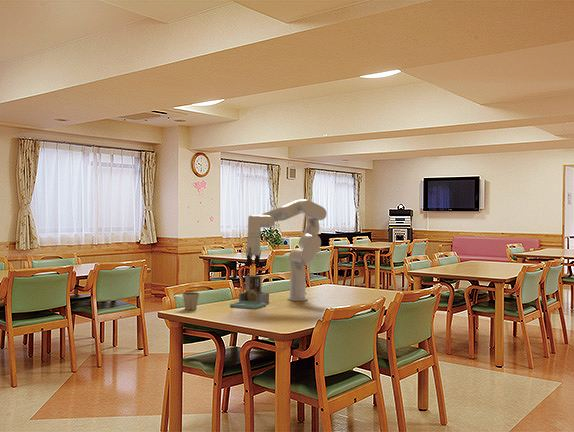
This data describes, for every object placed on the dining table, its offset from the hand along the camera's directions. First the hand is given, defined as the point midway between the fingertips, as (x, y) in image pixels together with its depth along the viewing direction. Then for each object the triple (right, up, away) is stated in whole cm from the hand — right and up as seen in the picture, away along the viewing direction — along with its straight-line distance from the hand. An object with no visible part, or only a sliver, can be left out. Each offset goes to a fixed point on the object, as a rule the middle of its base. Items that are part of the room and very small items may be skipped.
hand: (253, 265), depth 330 cm
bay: (0, -23, 0) cm, 23 cm away
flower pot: (-33, -22, -24) cm, 46 cm away
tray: (-2, -23, -12) cm, 26 cm away
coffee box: (0, -23, 0) cm, 23 cm away
